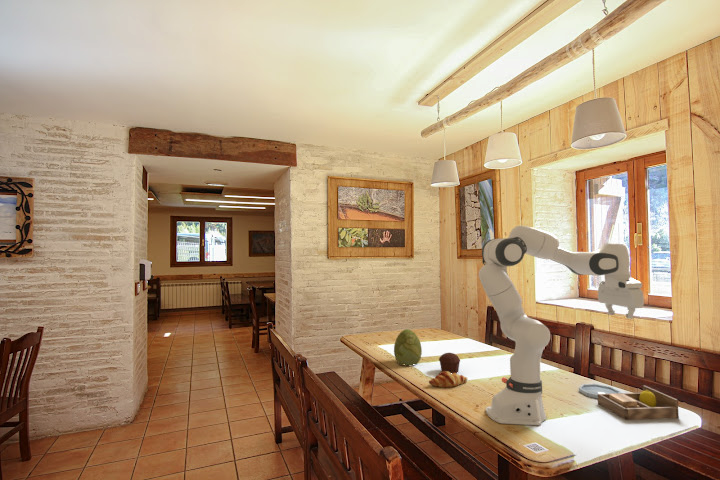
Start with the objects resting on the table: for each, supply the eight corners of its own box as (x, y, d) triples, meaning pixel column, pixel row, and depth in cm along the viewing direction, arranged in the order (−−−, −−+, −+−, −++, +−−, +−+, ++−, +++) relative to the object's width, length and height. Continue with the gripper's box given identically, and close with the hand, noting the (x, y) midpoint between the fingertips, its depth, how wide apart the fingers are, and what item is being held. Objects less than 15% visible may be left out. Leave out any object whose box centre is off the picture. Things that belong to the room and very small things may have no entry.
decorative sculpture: (393, 367, 217) (393, 332, 217) (394, 359, 233) (393, 326, 234) (422, 367, 215) (421, 332, 215) (421, 359, 231) (420, 326, 232)
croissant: (464, 387, 192) (459, 371, 196) (474, 383, 184) (469, 366, 188) (426, 391, 186) (423, 375, 190) (435, 388, 177) (431, 370, 181)
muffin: (449, 367, 214) (449, 349, 215) (464, 372, 205) (464, 353, 206) (434, 371, 208) (434, 353, 208) (449, 376, 199) (449, 357, 199)
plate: (594, 400, 164) (594, 396, 164) (572, 387, 180) (572, 384, 180) (630, 399, 164) (630, 395, 164) (604, 386, 180) (604, 383, 180)
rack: (625, 419, 145) (625, 401, 145) (597, 403, 161) (597, 386, 161) (678, 418, 145) (677, 399, 146) (645, 401, 161) (644, 385, 162)
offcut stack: (625, 416, 148) (624, 402, 148) (608, 407, 157) (608, 394, 157) (640, 415, 148) (640, 402, 149) (623, 406, 157) (622, 393, 158)
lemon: (640, 406, 157) (639, 386, 157) (657, 409, 154) (656, 389, 154) (639, 410, 153) (638, 390, 153) (656, 414, 149) (655, 393, 150)
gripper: (592, 281, 164) (594, 313, 163) (630, 284, 143) (633, 321, 143) (606, 280, 164) (608, 312, 164) (645, 283, 144) (648, 320, 143)
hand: (620, 316), depth 153 cm, fingers open, 8 cm apart
